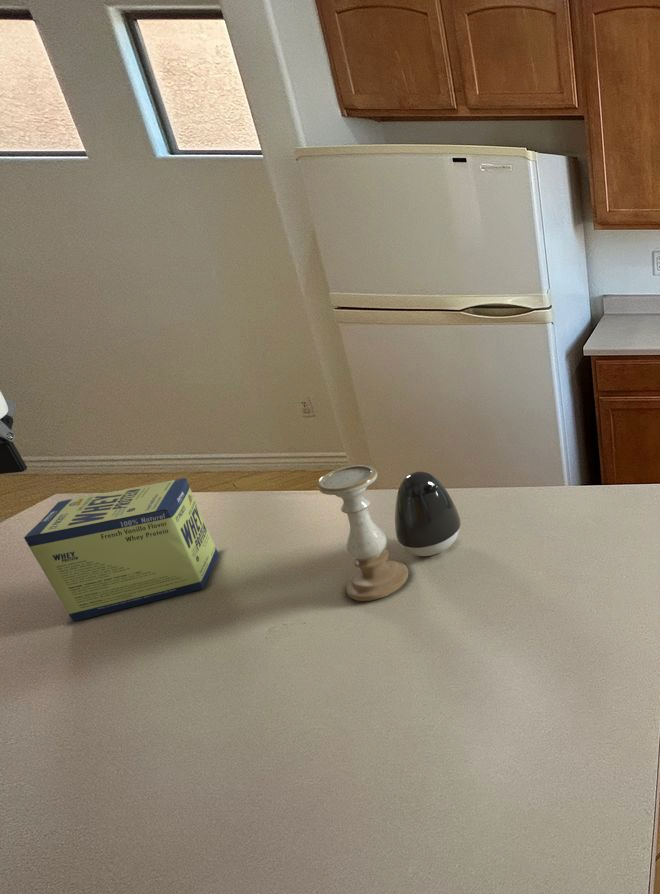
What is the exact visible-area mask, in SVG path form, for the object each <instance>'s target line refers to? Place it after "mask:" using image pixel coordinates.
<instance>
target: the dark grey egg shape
mask: <svg viewBox="0 0 660 894" xmlns="http://www.w3.org/2000/svg"><path fill="white" fill-rule="evenodd" d="M394 528H395V529H394V530H395V536H396V540H397V542H398V543H399V544H400V545H401V546H402V547H403V548H404V549H405V550H406V551H407V552H409V553H410V554H412V555H414V556H419V557H428V556H429V557H430V556H434V555H437V554H440V553H442V552H444V551H446V550H447V549H449V548H450V547H451V546H452V545H453V544H454V543H455V541H456V539H457V538H458V535H459V532H460V529H461V517H460V514H459V512H458V509H457V506H456V504H455V502H454V501H453V499H452V497H451V496H450V494H449V492H448V491H447V489H446V488H445V486H444V485H443V484H442V482H441V481H440V480H439V479H438V478H437V477H435V476H434V475H433V474H432V473H430V472H428V471H422V470H419V471H413V472H411V473H409V474H408V475H406V476H405V477H404V478H403V479H402V481H401V483H400V485H399V488H398V489H397V494H396V499H395V507H394Z"/></svg>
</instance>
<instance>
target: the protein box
mask: <svg viewBox="0 0 660 894" xmlns="http://www.w3.org/2000/svg"><path fill="white" fill-rule="evenodd" d="M23 538H24V540H25V542H26V544H27V546H28V547H29V550H30V551H31V553H32V554H33V557H34V558H35V560H36V561H37V563H38V565H39V566H40V569H41V570H42V571H43V573H44V575H45V577H46V578H47V580H48V581H49V583H50V585H51V586H52V588H53V589H54V591H55V593H56V595H57V597H58V599H59V601H60V602H61V603H62V605H63V607H64V609H65V610H66V612H67V614H68V617H69V618H70V620H71V621H72V622H77V621H81V620H86V619H89V618H93V617H98V616H102V615H105V614H110V613H113V612H117V611H120V610H125V609H128V608H132V607H137V606H140V605H145V604H148V603H152V602H157V601H161V600H164V599H168V598H169V599H170V598H171V597H172V598H173V597H177V596H181V595H184V594H188V593H192V592H193V593H194V592H195V591H196V592H197V591H201V590H203V589H205V586H206V584H207V582H208V580H209V577H210V575H211V573H212V570H213V568H214V565H215V563H216V560H217V558H218V557H219V553H220V552H219V551H218V549H217V547H216V545H215V542H214V539H213V538H212V535H211V533H210V530H209V528H208V526H207V523H206V521H205V519H204V516H203V514H202V512H201V510H200V507H199V505H198V503H197V501H196V498H195V496H194V494H193V492H192V489H191V487H190V484H189V481H188V479H187V477H184V478H177V479H172V480H167V481H161V482H157V483H152V484H146V485H141V486H135V487H130V488H124V489H119V490H113V491H109V492H103V493H97V494H91V495H87V496H81V497H75V498H70V499H65V500H60V501H57V502H56V504H55V505H54V506H53V507H52V508H51V509H50V511H49V512H48V513H47V514H46V515H45V516H44V517H43V518H42V519H41V520H40V521H39V522H38V523H37V524H36V525H35V526H34V527H33V528H32V529H30V531H28V532H27V534H25V535H24V537H23Z"/></svg>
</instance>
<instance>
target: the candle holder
mask: <svg viewBox="0 0 660 894" xmlns="http://www.w3.org/2000/svg"><path fill="white" fill-rule="evenodd" d="M377 479H378V471H377V470H376V468H374V467H373V466H371V465H367V464H353V465H347V466H344V467H339V468H336V469H334V470H331V471H329V472H327V473H326V474H324V475H323V476H321V477H320V478H319V480H318V482H317V490H318V491H319V492H320V493H321V494H323V495H329V496H336V497H338V498H340V499H341V500H342V501H343V503H342V505H341V507H340V510H341V512H342V513H344V514H346V516H347V519H348V523H349V532H348V537H347V540H346V550H347V553H348V554H349V556H350V557H352V558H354V561H353V564H354V566H355V567H356V568H357V569H358V570H357V571H355V572H354V574H353V575H352V576H351V577H350V578H349V580H348V581H347V582H346V587H345V588H346V589H345V590H346V593H347V595H348V596H349V598H351V599H352V600H355V601H359V602H370V601H376V600H379V599H382V598H385V597H388V596H389V595H391V594H393V593H395V592H396V591H398V590H399V589H400V588H402V587H403V586H404V585H405V584H406V582H407V580H408V578H409V569H408V567H407V565H406V564H404V563H403V562H401V561H398V560H397V561H396V560H392V559H388V558H389V555H390V554H389V551H388V550H387V548H386V546H387V544H388V538H387V535H386V534H385V532H384V531H383V530H382V529H381V528H380V527H379V526H378V525H377V524H376V523H375V522H374V520H373V519H372V517H371V515H370V511H369V507H370V506H371V500H370V499H368V498H367V497H366V496H365V494H364V492H365V491H366V490H367V488H368V487H369V486H371V484H373V483H374V482H375V481H376V480H377Z"/></svg>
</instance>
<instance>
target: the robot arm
mask: <svg viewBox="0 0 660 894" xmlns="http://www.w3.org/2000/svg"><path fill="white" fill-rule="evenodd" d="M16 409H17V403H16V402H15V401H14V400H11V399H9V398H7V397H5V396H4V395H3V393H2V391H1V390H0V475H5V474H16V473H23V472H25V471H26V470H28V466H27V464H26V462H25V461H24V459H23V457H22V455H21V454H20V452H19V450H18V448H17V447H16V445H15V443H14V440H15V439H16V435H15V433H14V431H12V429H13V425H14V415H15V413H16Z"/></svg>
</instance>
